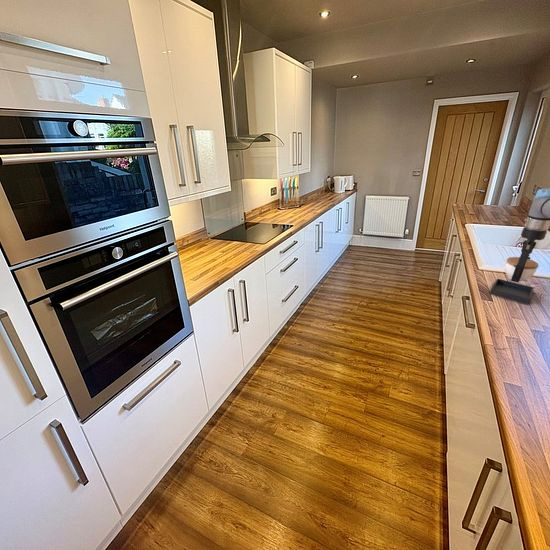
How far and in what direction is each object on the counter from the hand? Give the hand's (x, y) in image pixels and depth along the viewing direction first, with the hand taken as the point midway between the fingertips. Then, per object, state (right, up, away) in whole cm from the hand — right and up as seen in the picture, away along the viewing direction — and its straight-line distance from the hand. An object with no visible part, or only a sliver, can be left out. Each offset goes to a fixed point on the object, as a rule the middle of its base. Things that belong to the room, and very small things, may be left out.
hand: (516, 276), depth 127 cm
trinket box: (0, -1, 0) cm, 1 cm away
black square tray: (0, -7, +3) cm, 8 cm away
